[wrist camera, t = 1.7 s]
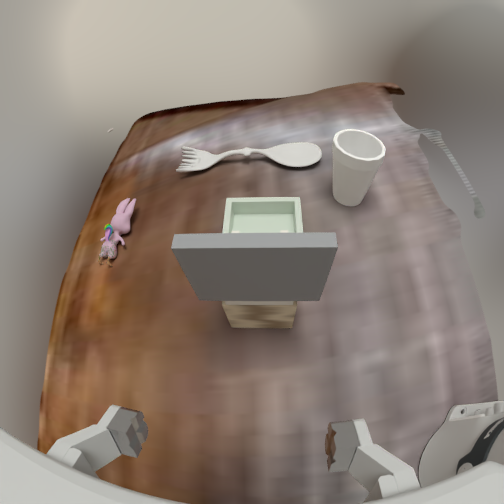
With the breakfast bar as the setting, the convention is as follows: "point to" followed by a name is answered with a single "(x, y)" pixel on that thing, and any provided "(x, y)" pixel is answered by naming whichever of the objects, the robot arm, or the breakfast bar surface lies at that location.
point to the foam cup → (355, 164)
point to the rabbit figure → (117, 230)
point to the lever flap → (256, 266)
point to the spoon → (283, 154)
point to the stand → (260, 315)
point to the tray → (263, 215)
